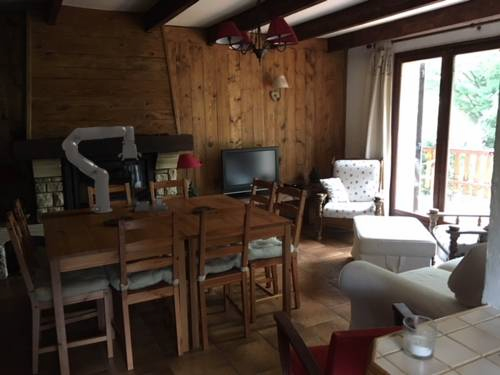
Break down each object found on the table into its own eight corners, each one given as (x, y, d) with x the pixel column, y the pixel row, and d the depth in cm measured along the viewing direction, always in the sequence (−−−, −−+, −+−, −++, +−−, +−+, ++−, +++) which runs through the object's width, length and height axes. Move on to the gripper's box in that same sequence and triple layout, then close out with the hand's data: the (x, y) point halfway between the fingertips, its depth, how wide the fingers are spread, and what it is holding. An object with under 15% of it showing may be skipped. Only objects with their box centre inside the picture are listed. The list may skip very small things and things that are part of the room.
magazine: (156, 201, 340) (147, 185, 334) (142, 210, 334) (133, 194, 328) (154, 201, 343) (145, 185, 337) (140, 210, 337) (131, 194, 331)
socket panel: (134, 212, 312) (134, 204, 311) (135, 209, 322) (134, 201, 321) (168, 210, 317) (167, 202, 316) (167, 207, 328) (167, 199, 327)
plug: (156, 208, 319) (156, 197, 317) (156, 207, 322) (156, 196, 321) (162, 208, 320) (161, 196, 318) (162, 207, 323) (161, 195, 322)
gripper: (116, 143, 315) (118, 166, 318) (141, 142, 319) (142, 165, 321) (117, 142, 322) (118, 165, 325) (141, 142, 326) (142, 164, 329)
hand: (130, 165), depth 323 cm, fingers open, 9 cm apart
